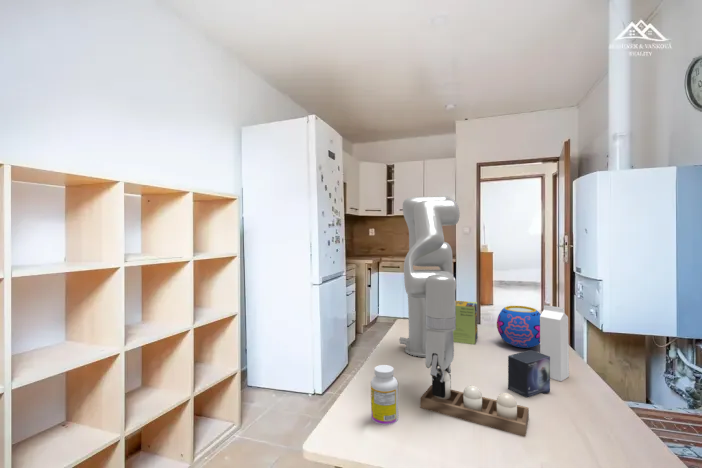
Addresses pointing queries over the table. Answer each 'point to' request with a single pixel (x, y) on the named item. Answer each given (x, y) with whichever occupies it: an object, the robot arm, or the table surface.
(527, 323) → the ceramic pot
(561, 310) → the milk
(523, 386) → the small box
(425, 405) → the crate
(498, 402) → the egg far
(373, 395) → the supplement bottle
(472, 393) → the egg middle
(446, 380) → the white rounded cylinder
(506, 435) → the table surface
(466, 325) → the protein box
